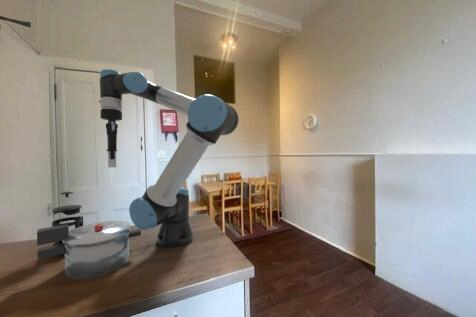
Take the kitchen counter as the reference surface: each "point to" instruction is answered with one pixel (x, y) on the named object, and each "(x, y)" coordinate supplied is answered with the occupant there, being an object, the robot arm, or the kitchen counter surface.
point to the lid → (83, 233)
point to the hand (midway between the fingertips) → (112, 167)
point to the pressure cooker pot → (92, 256)
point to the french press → (68, 211)
